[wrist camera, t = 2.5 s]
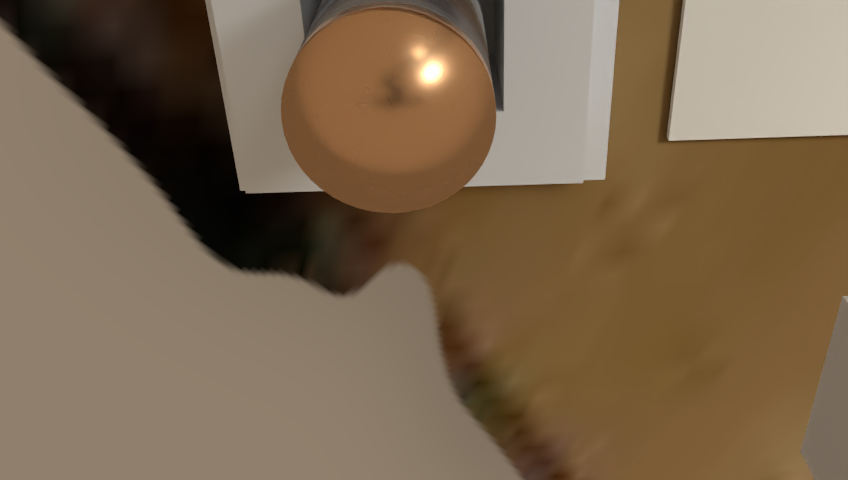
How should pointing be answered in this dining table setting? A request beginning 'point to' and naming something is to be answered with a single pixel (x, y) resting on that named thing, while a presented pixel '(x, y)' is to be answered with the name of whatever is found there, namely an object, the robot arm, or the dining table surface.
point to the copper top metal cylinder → (391, 101)
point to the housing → (511, 75)
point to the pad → (760, 70)
